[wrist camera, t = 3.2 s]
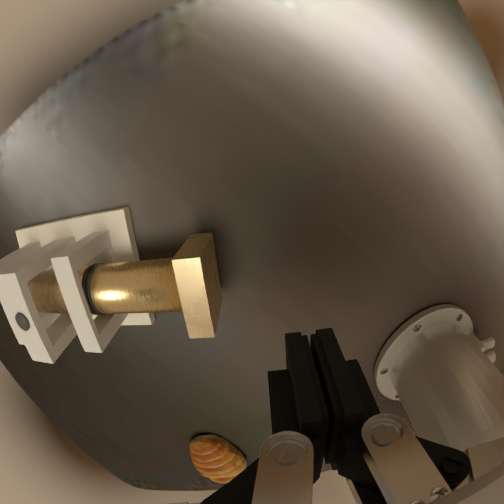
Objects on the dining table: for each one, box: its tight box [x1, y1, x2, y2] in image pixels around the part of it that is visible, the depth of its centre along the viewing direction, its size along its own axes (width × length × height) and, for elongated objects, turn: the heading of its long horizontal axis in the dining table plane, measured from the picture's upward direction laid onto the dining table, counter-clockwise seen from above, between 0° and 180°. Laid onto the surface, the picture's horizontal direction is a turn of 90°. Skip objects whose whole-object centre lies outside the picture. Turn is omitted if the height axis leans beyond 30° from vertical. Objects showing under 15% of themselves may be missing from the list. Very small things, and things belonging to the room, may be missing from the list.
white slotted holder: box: [0, 207, 155, 364], centre depth 19 cm, size 13×10×9 cm
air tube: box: [27, 232, 223, 338], centre depth 19 cm, size 16×5×5 cm, turn 96°
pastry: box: [189, 434, 246, 483], centre depth 30 cm, size 9×7×4 cm
